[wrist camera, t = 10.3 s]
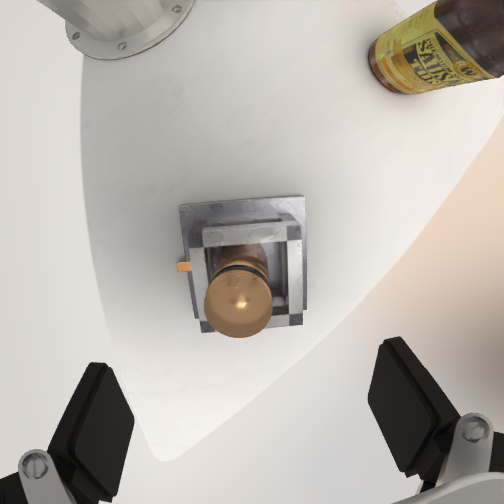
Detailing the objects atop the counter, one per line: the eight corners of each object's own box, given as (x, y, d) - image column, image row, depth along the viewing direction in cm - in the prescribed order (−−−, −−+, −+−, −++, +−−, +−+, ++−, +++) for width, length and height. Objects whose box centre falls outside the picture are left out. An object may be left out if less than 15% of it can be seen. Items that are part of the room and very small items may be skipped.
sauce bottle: (359, 78, 22) (539, -7, 3) (373, 26, 20) (516, -75, 1) (419, 110, 23) (606, 93, 4) (429, 58, 21) (588, 11, 2)
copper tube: (217, 238, 24) (201, 274, 17) (269, 239, 24) (275, 277, 17) (218, 285, 26) (204, 336, 18) (267, 287, 26) (271, 339, 18)
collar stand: (171, 205, 24) (154, 218, 19) (302, 195, 25) (319, 205, 19) (187, 313, 27) (178, 347, 22) (304, 304, 28) (318, 336, 22)
